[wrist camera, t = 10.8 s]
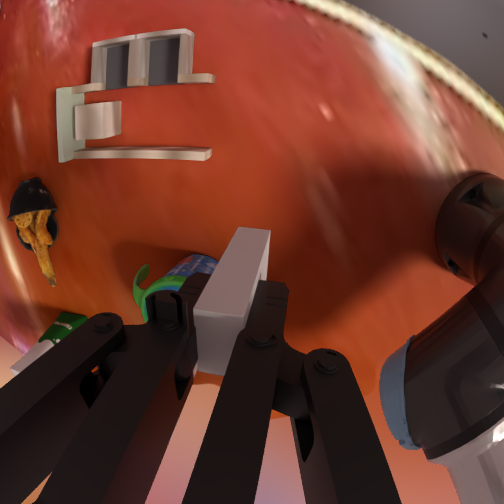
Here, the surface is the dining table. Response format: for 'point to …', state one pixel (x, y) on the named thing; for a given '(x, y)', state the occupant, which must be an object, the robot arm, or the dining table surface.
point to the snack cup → (171, 278)
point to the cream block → (98, 120)
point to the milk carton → (50, 339)
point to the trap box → (131, 75)
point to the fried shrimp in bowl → (35, 222)
